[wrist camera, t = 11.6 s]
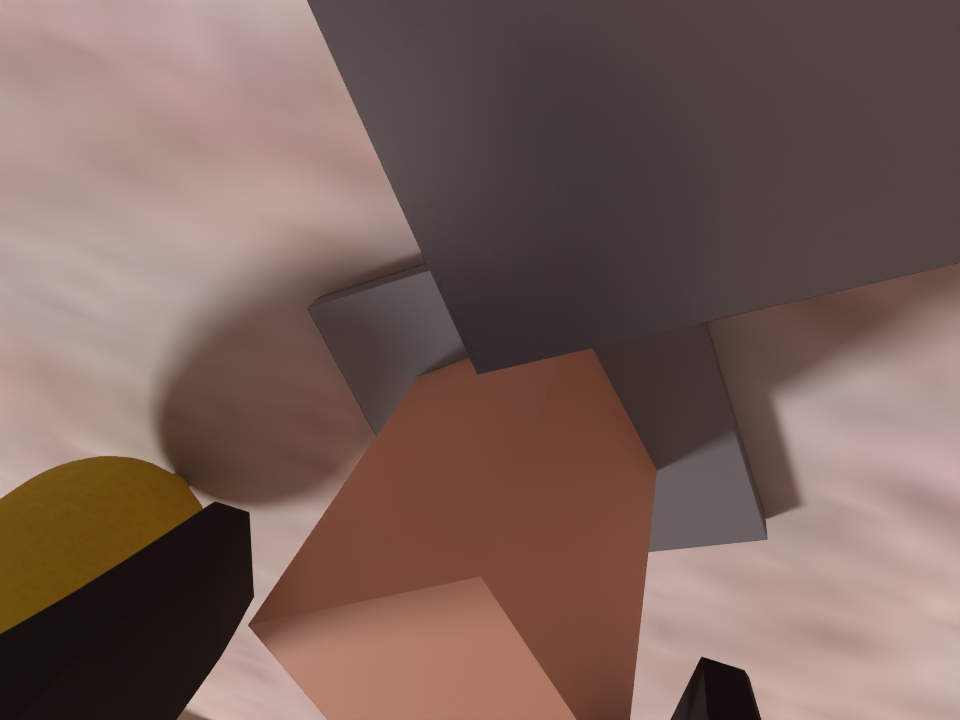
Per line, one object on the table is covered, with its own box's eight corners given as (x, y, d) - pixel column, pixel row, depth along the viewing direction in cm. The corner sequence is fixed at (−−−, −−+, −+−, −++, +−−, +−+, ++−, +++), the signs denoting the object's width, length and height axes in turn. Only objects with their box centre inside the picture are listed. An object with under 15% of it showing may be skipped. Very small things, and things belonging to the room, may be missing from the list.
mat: (319, 297, 16) (307, 308, 16) (664, 188, 13) (663, 197, 13) (456, 556, 19) (449, 572, 19) (765, 521, 16) (767, 539, 16)
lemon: (254, 423, 19) (9, 681, 12) (274, 569, 22) (84, 842, 15) (78, 384, 20) (-232, 601, 14) (119, 527, 23) (-120, 765, 16)
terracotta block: (416, 377, 16) (248, 624, 10) (576, 316, 14) (480, 577, 8) (500, 511, 17) (393, 798, 12) (657, 470, 16) (622, 788, 10)
